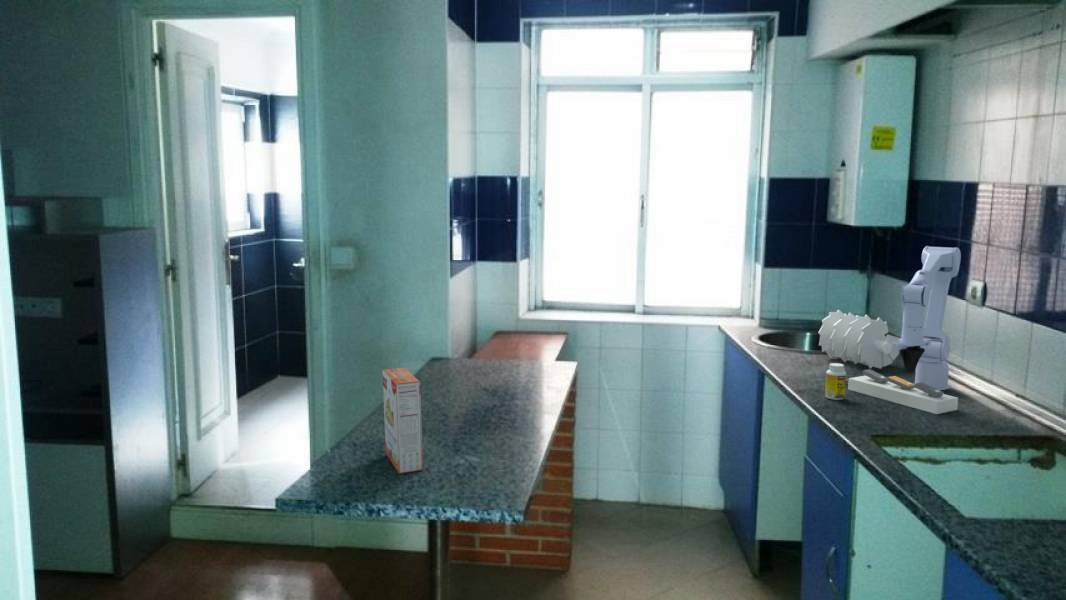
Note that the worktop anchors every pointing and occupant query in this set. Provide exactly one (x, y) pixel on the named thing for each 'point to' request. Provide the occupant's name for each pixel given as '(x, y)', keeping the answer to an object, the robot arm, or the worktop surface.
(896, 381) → the orange flat bar
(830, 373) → the supplement bottle
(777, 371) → the worktop surface
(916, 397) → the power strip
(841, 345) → the white ribbed cylinder
